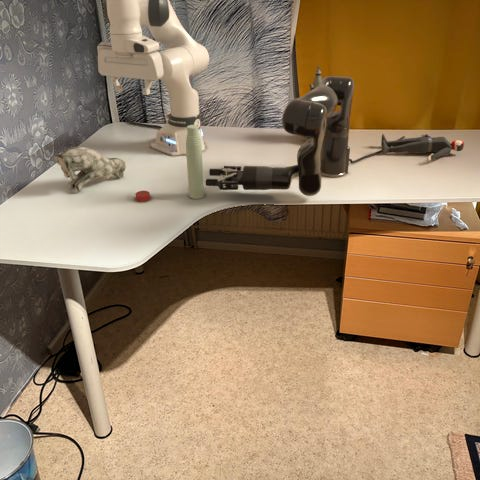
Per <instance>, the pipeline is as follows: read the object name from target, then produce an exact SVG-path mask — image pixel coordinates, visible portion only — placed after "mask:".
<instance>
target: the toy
mask: <svg viewBox="0 0 480 480" xmlns="http://www.w3.org/2000/svg"><path fill="white" fill-rule="evenodd" d="M420 135H421V136H418V137H410V138H409V137H408V138H403V139H402V140H398V139H397V140H387V138H386V136H385V134H384V133H382V134H381V140H380V141H381V143H380V147H381V150H382V152H381V154H382V155H386V154H391V153H395V154H401V153H402V154H403V153H408V154H416V153H417V154H426V153H431V154H430V155H428V156H427V160H428V161H429V162H430V161H433V160H435V159H437V158H438V157H441V156H443V157H444V156H448V155H450V154H451V151H452V150H453V151H455V152H461V151H463V150H464V147H465V142H464V141H462V140H452V141H451V142H450V141H449V140H448V139H447V138H446V137H445V136H433V137H432V136H431V135H429V134H427V133H425V134H423V133H422V134H420ZM388 146H389V147H388ZM390 146H391V147H390ZM433 152H434V153H433Z"/></svg>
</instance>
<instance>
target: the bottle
mask: <svg viewBox="0 0 480 480" xmlns="http://www.w3.org/2000/svg"><path fill="white" fill-rule="evenodd" d="M187 133H188V134H187V138H186V155H185V156H186V170H187V184H188V197H189V198H190V199H194V200H197V199H198V200H199V199H201V198H204V196H205V187H204V166H203V164H204V163H203V151H202V144H201V139H200V136H199V134H198V126H197V125H189V126H187Z"/></svg>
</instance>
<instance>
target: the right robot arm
mask: <svg viewBox="0 0 480 480" xmlns="http://www.w3.org/2000/svg"><path fill="white" fill-rule="evenodd" d="M354 92H355V81H354V79H353V78H352V77H351V76H350V77H349V76H336V75H335V76H334V75H329V76H325V77H323V78H322V81H321V83H320V84H319V85H318V86H317V87H316V88H314V89H313V90H311V91H310V90H309V92H307V93H305V94H304V95H302V96H300V97H296V98H293V99H291V100H290V101H289V102H288V103H287V105H286V106H285V108H284V110H283V112H282V116H281V125H282V129H283V130H284V131H285V132H286V133H287V134H290V135H294V136H298V137H302V138H303V137H306V138H310V139H309V140H308V141H305V142H304V143H302V144H301V145H300V147H299V148H298V150H297V153H296V163H297V164H295V165H291V166H285V167H283V166H282V167H281V166H279V167H277V166H275V167H273V166H266V165H265V166H263V165H244V166H243V167H242V166H241V165H240V166H238V165H223V167H221V168H209V170H208V173H209V176H211V177H221V178H206V179H205V181H204V182H205V186H206V187H217V188H218V190H219V191H237V190H239V186H242V189H243V190H246V191H269V190H275V191H276V190H279V191H280V190H281V191H283V190H289V189H290V188H291V185H292V181H293V180H294V179H296V178H297V179H298V190H299V192H300V193H301V194H302V195H304V196H307V197H314V196H317V194H318V193H320V192H321V190H322V176H324V177H329V178H339V177H343V176H345V175H346V174H349V166H350V164H356V163H358V162H360V161H362V160H364V159H367V158H370V157H372V156H373V157H374V156H376V155H378V154H382V149H380V150H378V151H375V152H373V153H369V154H366V155H364V156H361V157H359V158H357V159H355V160H353V159H352V158H350V154H351V147H350V146H349V138H350V137H349V134H350V127H351V126H350V125H351V117H352V115H351V114H352V104H353V99H354ZM338 106H339V107H340V109H338V110H337V111H336V109H337V107H338ZM403 139H406V136H405V135H403V136H401V137H400V138H398V139H397V140H403ZM388 147H389V146H388ZM390 147H392V146H390Z"/></svg>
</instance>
